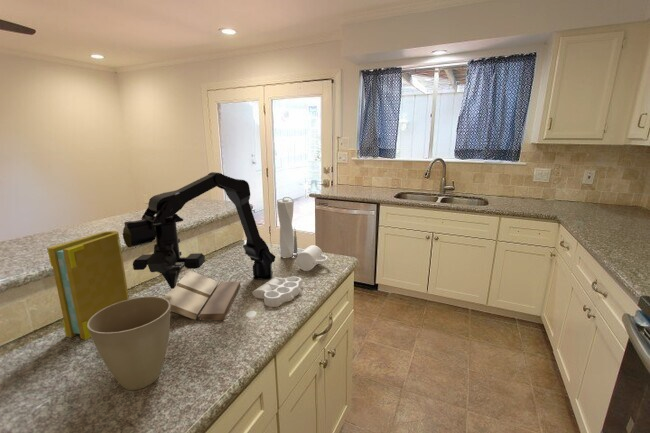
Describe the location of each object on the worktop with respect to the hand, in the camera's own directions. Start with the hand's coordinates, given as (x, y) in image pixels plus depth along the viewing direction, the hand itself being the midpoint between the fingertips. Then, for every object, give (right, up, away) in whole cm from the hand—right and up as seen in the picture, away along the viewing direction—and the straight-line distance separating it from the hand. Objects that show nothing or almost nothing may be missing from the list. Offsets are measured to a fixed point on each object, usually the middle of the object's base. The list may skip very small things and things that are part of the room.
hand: (173, 288), depth 95 cm
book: (-19, -9, -3) cm, 21 cm away
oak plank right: (+2, -3, +13) cm, 13 cm away
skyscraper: (+29, +3, +50) cm, 58 cm away
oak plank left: (+3, -5, +1) cm, 6 cm away
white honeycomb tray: (+30, -6, +14) cm, 34 cm away
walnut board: (+12, -6, +8) cm, 16 cm away
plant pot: (+5, -14, -25) cm, 30 cm away
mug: (+41, 0, +37) cm, 55 cm away
